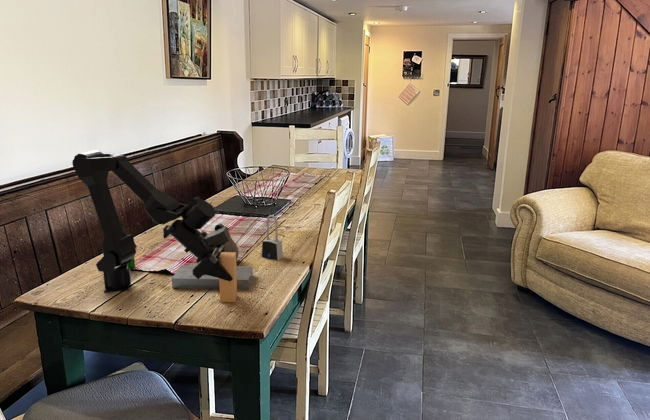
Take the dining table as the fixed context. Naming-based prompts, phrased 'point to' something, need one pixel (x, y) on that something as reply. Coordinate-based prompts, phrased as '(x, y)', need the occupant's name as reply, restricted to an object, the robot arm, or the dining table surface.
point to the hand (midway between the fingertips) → (233, 276)
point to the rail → (209, 278)
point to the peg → (230, 287)
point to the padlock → (272, 244)
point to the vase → (231, 247)
